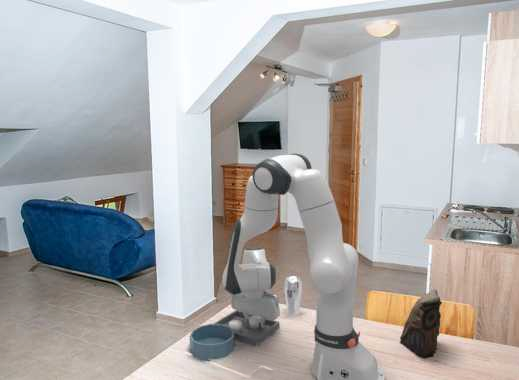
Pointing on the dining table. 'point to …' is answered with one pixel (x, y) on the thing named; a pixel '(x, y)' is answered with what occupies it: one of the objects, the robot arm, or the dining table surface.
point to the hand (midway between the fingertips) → (255, 324)
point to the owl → (423, 326)
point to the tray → (249, 334)
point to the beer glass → (293, 295)
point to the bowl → (212, 341)
